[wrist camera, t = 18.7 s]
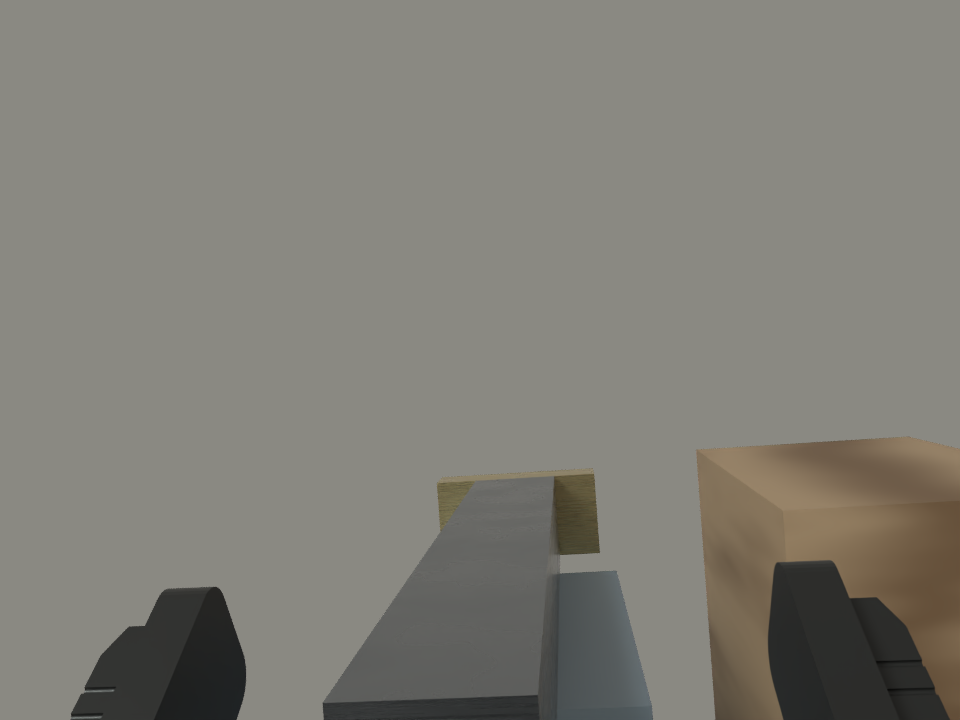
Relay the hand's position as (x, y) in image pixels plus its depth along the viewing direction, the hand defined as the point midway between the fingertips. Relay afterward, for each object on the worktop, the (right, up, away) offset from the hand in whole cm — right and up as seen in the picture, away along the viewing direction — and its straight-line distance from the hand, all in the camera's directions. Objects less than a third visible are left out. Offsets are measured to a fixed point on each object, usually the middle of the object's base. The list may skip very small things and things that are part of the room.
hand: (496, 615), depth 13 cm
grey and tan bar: (0, -4, +10) cm, 11 cm away
